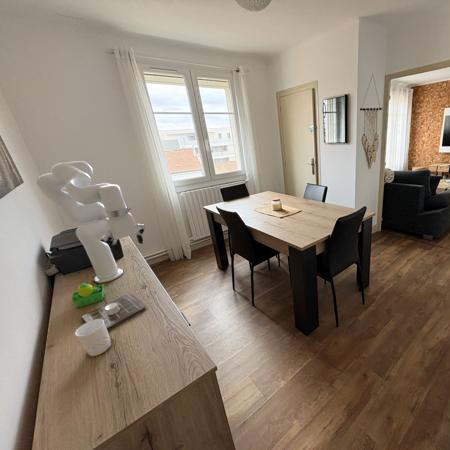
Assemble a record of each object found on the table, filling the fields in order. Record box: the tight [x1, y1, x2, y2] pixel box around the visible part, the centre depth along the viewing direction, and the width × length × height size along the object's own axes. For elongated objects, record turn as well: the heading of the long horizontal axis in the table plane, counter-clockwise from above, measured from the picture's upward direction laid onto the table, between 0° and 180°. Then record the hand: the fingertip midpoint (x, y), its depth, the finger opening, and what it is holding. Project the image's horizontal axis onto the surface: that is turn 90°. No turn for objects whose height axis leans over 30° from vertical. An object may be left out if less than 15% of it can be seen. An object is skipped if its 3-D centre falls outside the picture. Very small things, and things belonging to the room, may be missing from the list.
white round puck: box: [105, 303, 120, 315], centre depth 103 cm, size 4×4×3 cm
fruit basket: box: [70, 283, 105, 308], centre depth 111 cm, size 11×9×11 cm
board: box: [81, 293, 146, 332], centre depth 104 cm, size 18×18×1 cm
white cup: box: [74, 319, 112, 357], centre depth 86 cm, size 8×8×10 cm
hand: (129, 247), depth 113 cm, fingers open, 9 cm apart
